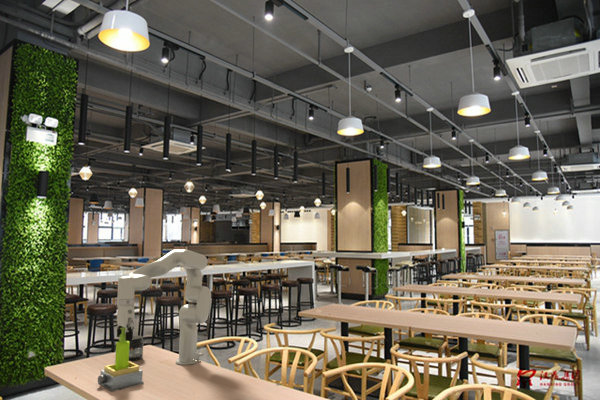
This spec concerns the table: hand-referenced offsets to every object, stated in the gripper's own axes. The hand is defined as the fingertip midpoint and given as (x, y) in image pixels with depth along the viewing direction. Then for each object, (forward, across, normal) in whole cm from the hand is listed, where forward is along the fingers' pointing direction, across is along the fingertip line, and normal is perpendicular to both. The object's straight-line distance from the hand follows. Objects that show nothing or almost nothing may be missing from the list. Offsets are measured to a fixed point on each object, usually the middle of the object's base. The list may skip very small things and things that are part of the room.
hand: (124, 338), depth 198 cm
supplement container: (+22, +36, -21) cm, 47 cm away
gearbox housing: (+21, 0, +1) cm, 21 cm away
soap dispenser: (+15, -1, +1) cm, 15 cm away
